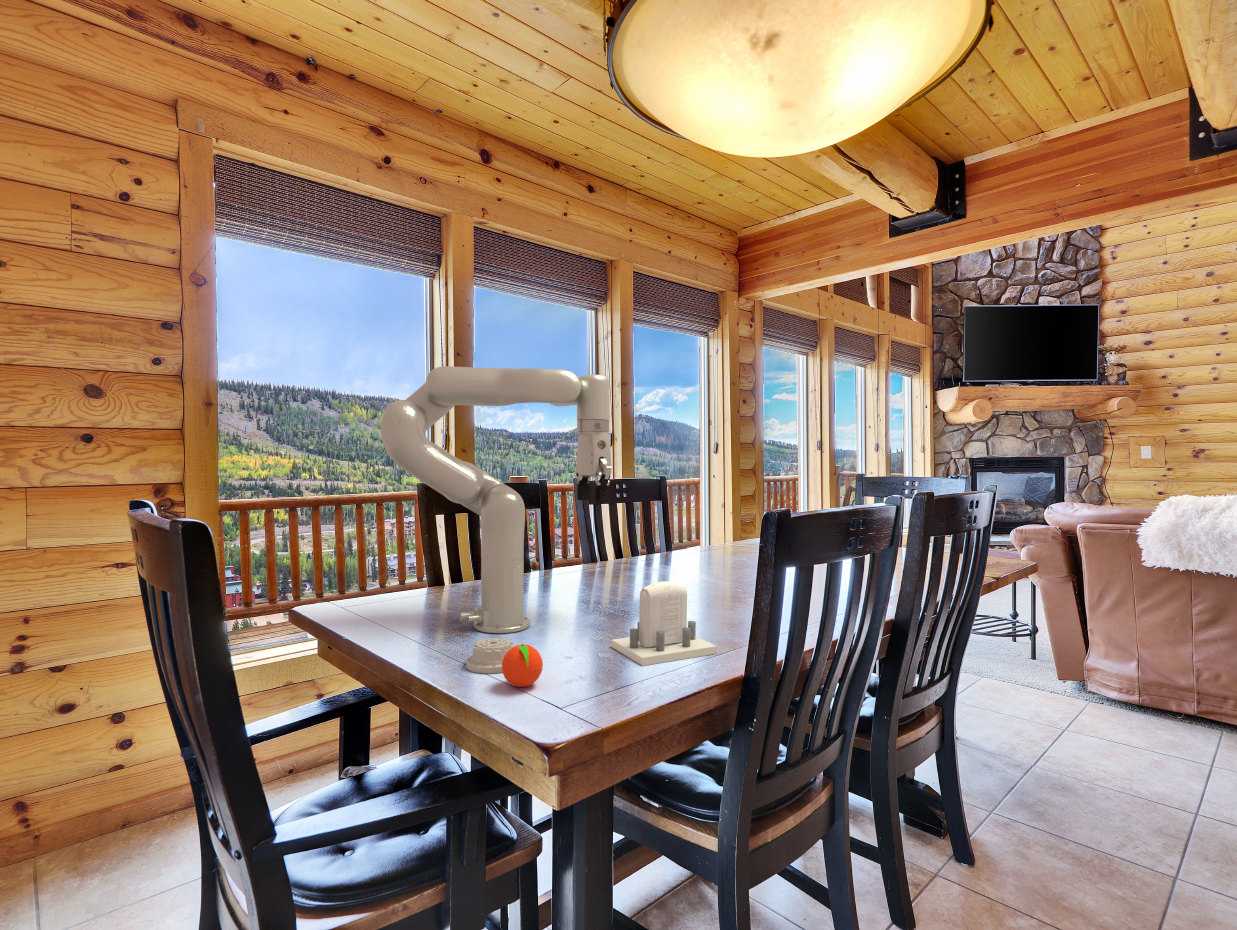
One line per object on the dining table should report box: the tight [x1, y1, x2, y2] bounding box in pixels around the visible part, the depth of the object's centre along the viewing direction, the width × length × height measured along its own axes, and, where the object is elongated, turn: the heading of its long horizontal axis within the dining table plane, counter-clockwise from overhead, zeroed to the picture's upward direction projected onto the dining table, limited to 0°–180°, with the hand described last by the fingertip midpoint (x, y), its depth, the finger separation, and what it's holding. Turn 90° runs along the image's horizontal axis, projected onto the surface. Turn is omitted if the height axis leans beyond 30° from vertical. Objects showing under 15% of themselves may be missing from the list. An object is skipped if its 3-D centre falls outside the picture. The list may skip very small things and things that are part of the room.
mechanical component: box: [465, 637, 515, 674], centre depth 121 cm, size 10×4×10 cm
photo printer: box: [638, 580, 688, 647], centre depth 130 cm, size 10×4×12 cm, turn 121°
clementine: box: [501, 643, 544, 688], centre depth 110 cm, size 8×7×7 cm
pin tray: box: [610, 620, 718, 667], centre depth 130 cm, size 17×13×5 cm
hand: (592, 501), depth 151 cm, fingers open, 9 cm apart
